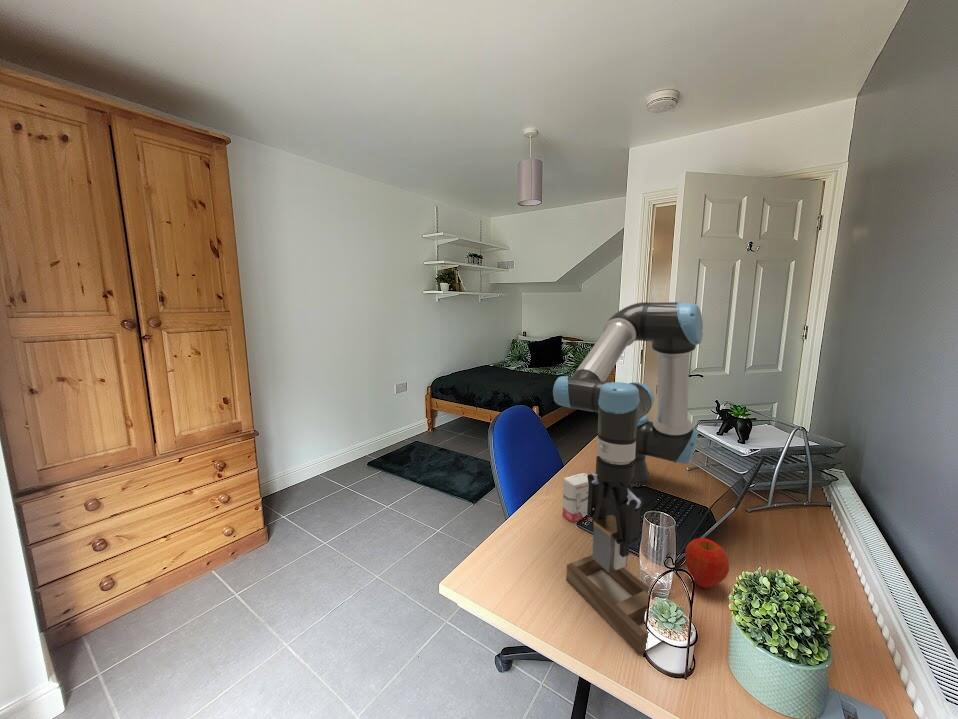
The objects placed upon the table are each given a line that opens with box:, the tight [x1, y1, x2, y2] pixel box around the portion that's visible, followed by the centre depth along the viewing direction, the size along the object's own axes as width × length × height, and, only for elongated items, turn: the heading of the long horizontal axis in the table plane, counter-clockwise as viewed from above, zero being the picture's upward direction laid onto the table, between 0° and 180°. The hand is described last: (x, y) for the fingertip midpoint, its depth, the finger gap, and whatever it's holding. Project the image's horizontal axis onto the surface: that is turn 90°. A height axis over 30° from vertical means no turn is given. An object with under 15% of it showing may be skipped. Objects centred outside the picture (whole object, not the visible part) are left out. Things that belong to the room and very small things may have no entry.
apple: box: [684, 537, 730, 589], centre depth 86 cm, size 9×8×11 cm
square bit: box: [591, 514, 628, 573], centre depth 82 cm, size 5×5×9 cm
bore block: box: [565, 554, 662, 656], centre depth 82 cm, size 11×21×4 cm, turn 26°
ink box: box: [562, 472, 594, 523], centre depth 114 cm, size 9×5×12 cm, turn 116°
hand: (609, 558), depth 83 cm, fingers closed on square bit, 5 cm apart
